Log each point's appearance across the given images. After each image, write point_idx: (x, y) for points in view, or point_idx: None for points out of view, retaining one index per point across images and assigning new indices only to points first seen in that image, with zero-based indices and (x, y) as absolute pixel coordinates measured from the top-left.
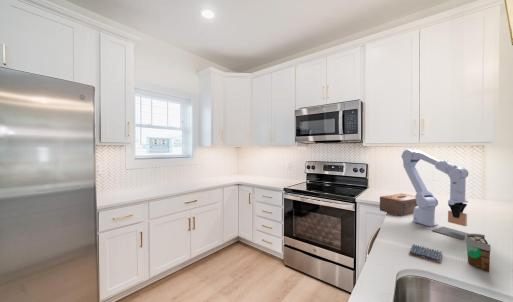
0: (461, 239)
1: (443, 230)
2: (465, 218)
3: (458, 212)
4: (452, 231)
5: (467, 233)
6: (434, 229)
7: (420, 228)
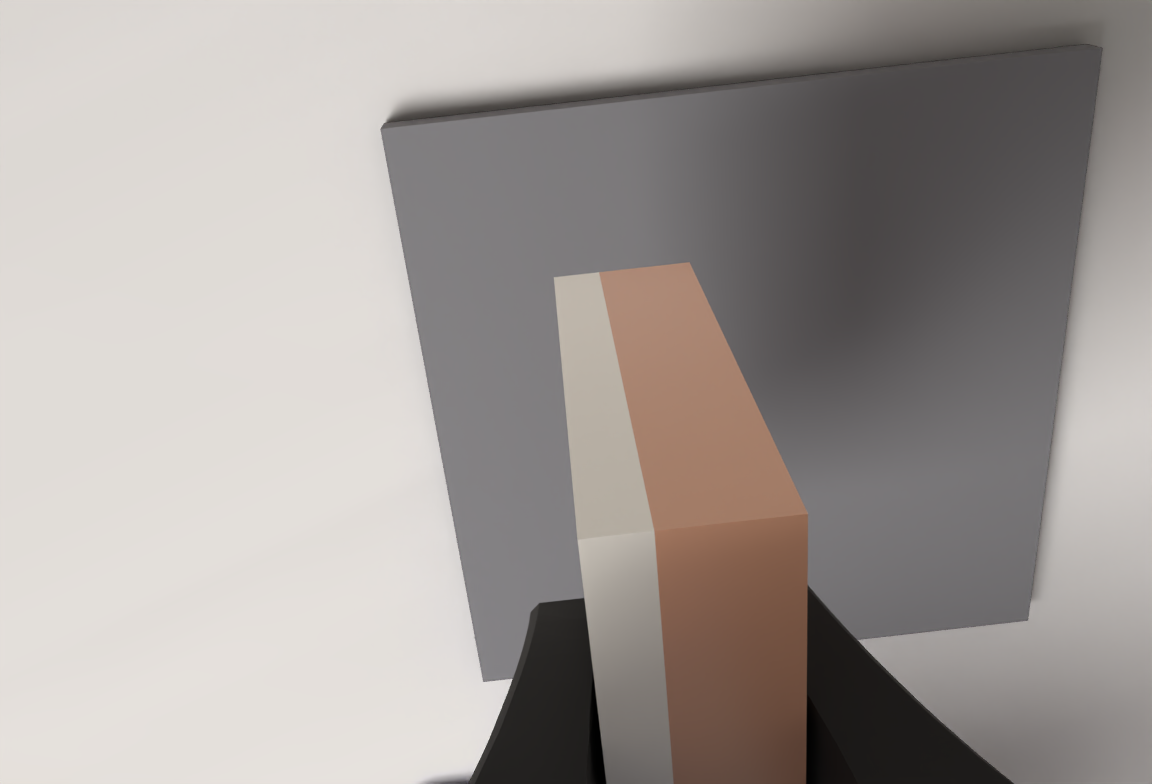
0: (1084, 46)
1: None
2: (743, 397)
3: (954, 760)
4: None
5: (443, 224)
6: (925, 629)
7: (1049, 753)
